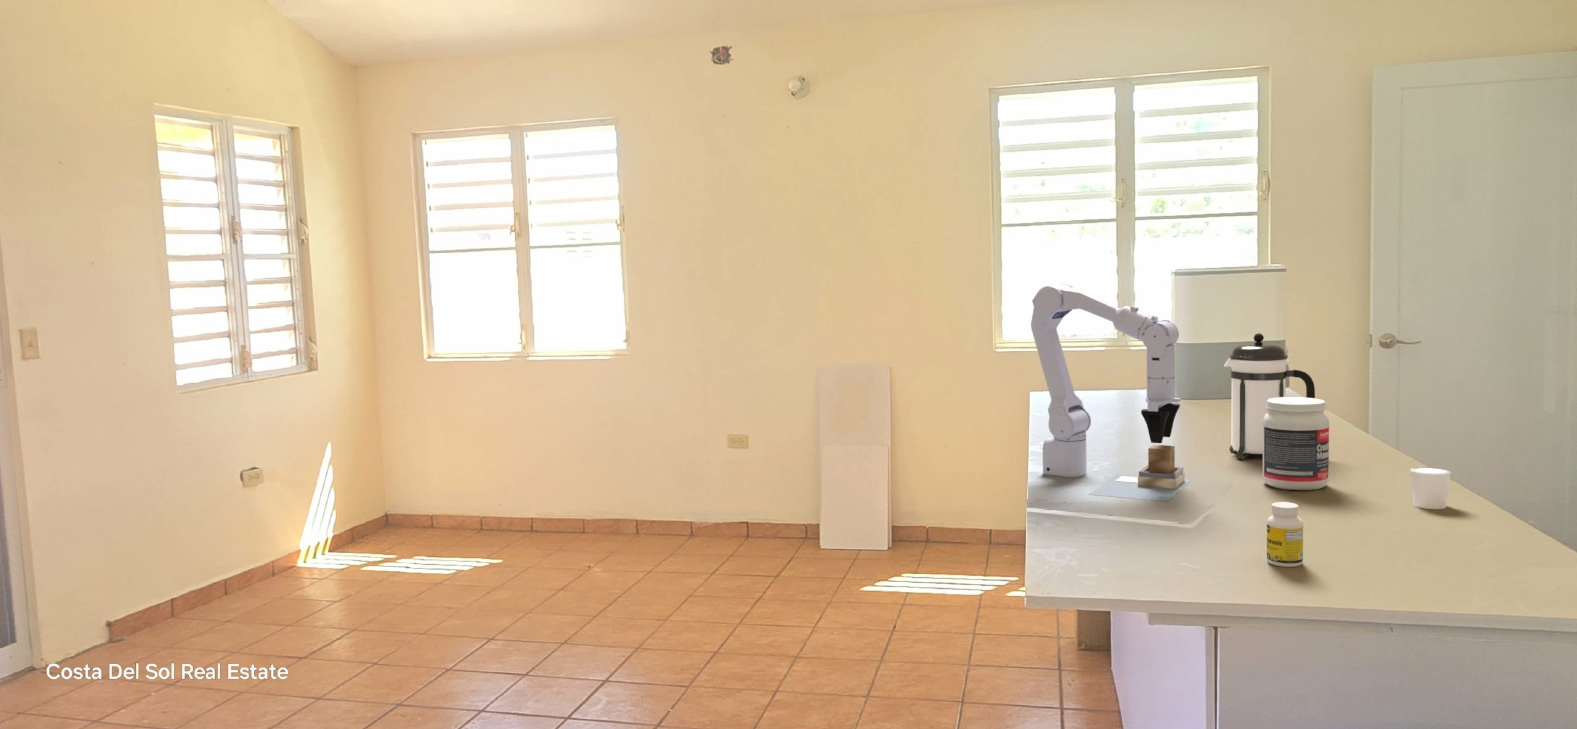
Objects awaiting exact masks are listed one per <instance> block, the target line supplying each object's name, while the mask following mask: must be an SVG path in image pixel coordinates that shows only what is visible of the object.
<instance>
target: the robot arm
mask: <svg viewBox="0 0 1577 729" xmlns="http://www.w3.org/2000/svg"><path fill="white" fill-rule="evenodd" d="M1031 302H1032V306H1033V311H1032V315H1031V323H1030V327H1031V332H1032V336H1033V339H1034V340H1033V341H1034V342H1035V347H1036V350H1037V353H1038V357H1039V360H1040V365H1041V368H1042V371H1043V374H1044V378H1045V381H1046V385H1047V389H1048V392H1049V398H1050V403H1049V406H1048V407H1047V412H1048V415H1049V417H1048V418H1049V419H1048V430H1049V432H1050V433H1051V435H1052V436H1053V437H1046V438H1045V439H1044V441H1043V445H1042V475H1048V476H1051V475H1052V476H1061V477H1067V478H1068V477H1070V478H1071V477H1072V478H1074V477H1083V476H1086V475H1087V431H1088V430H1089V429H1090V427H1091V425H1092V418H1091V415H1090V414H1089V412H1088V411H1087V410H1086V408H1085V407H1084V404H1083V401H1082V400H1081V398H1080V397H1079V396H1077V394H1076V393H1075V389H1074V387H1073V383H1072V380H1071V377H1070V375H1071V374H1070V372H1069V369H1068V365H1067V362H1066V358H1065V354H1064V351H1063V347H1062V344H1061V341H1060V337H1059V334H1058V330H1057V328H1058V327H1059V325H1060V323H1061V322H1062V320H1063V319H1064V317H1066V316H1067V315H1068V314H1069V313H1071V312H1072V311H1073V310H1083V311H1085V312H1087V313H1090V314H1092V315H1095V316H1096V317H1100V318H1101V319H1105V320H1107V321H1110V322H1112V325H1113V326H1114V329H1115V330H1116V331H1118V332H1120V333H1122V334H1125V335H1127V336H1129V337H1130V338H1131V337H1132V338H1134V339H1136V340H1138V341H1140V342H1142V343H1143V345H1144V346H1145V347H1146V397H1145V401H1146V403H1147V408H1143V409H1141V411H1140V413H1141V416H1142V417H1143V419H1144V423H1145V424H1146V427H1147V431H1148V435H1149V439H1150V442H1151V444H1162V443H1163V440H1164V438H1171V435H1172V431H1173V426H1174V422H1175V418H1176V415H1177V413H1178V411H1179V409H1180V405H1181V404H1180V402H1181V400H1182V399H1181V397H1175V396H1176V395H1175V394H1176V393H1175V392H1176V389H1175V388H1176V386H1175V384H1176V380H1175V379H1176V378H1175V377H1176V376H1175V375H1176V374H1175V373H1176V366H1175V365H1176V358H1175V356H1176V354H1175V352H1176V351H1175V348H1176V347H1175V344H1176V343H1177V342H1178V340H1179V335H1180V333H1179V329H1178V327H1177V325H1176V324H1175V323H1174V322H1171V321H1170V320H1168V319H1162V320H1159V317H1158V316H1157V315H1149V314H1146V313H1144V312H1142V311H1140V310H1139V309H1140V308H1139V307H1138V306H1136V305H1131V306H1129V305H1126V306H1123V307H1121V308H1119V307H1117V306H1115V305H1114V304H1111V303H1109V302H1107V301H1105V300H1104V299H1101V298H1099V297H1098V296H1095V295H1094V294H1091V293H1090V292H1088V291H1085V290H1084V289H1082V288H1079V287H1074V286H1073V285H1071V284H1066V283H1065V284H1060V285H1052V286H1050V285H1047V286H1043V287H1041V288H1040V289H1039V290H1038V291H1037V293H1036V294H1035V296H1034V298H1033V299H1032V301H1031Z"/></svg>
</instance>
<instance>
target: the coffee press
mask: <svg viewBox="0 0 1577 729" xmlns="http://www.w3.org/2000/svg"><path fill="white" fill-rule="evenodd" d="M1264 338H1265V337H1264V335H1263V334H1262V333H1260V332H1259V333H1255V334H1254V336H1253V340H1254V343H1253V342H1252V343H1244V344H1240V345H1237V346H1235V347H1233V349H1232V352H1231V353H1230V354H1229V357H1228V359H1227V360H1226V361H1225V363H1224V365H1223V366H1224V368H1231V369H1230V379H1231V401H1230V402H1231V411H1230V412H1231V414H1230V415H1231V416H1230V417H1231V418H1230V419H1231V421H1230V422H1231V423H1230V424H1231V425H1230V426H1231V430H1230V432H1231V435H1230V436H1231V439H1230V440H1231V442H1230V443H1231V445H1230V446H1229V452H1230V453H1237V454H1236V455H1235V456H1236V459H1237V460H1239V459H1240V460H1239V461H1241V460H1242V461H1244V460H1245V459H1246V457H1247V456H1248V455H1253V454H1254V455H1255V454H1256V455H1263V418H1264V416H1265V415H1266V414H1267V413H1268V409H1267V408H1266V406H1267V400H1268V399H1271V398H1279V397H1287V395H1286V392H1287V391H1286V388H1287V387H1286V385H1287V384H1286V383H1287V382H1286V380H1287V378H1288V377H1289V378H1290V377H1291V378H1299V379H1301V381H1303V382H1304V384H1305V391H1306V393H1305V394H1306V397H1305V398H1314V399H1316V395H1315V394H1316V392H1315V391H1316V390H1315V383H1314V381H1313V379H1312V377H1311V375H1310V374H1308V373H1307V372H1305V371H1303V370H1300V369H1292V370H1288V369H1287V360H1288V358H1289V356H1288V355H1289V354H1287V352H1286V351H1285V349H1284V348H1283V347H1282V346H1280V345H1278V344H1274V343H1263V341H1264Z"/></svg>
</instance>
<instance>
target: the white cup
mask: <svg viewBox="0 0 1577 729" xmlns="http://www.w3.org/2000/svg"><path fill="white" fill-rule="evenodd" d="M1409 473H1410V484H1411V496H1412V498H1411V499H1412V506H1414V507H1416V508H1421V509H1426V510H1427V509H1428V510H1441V509H1446V508H1447V504H1448V496H1449V490H1450V482H1451V476H1452V475H1451V474H1452V472H1451V471H1450V470H1448V469H1444V468H1437V467H1429V466H1427V467H1426V466H1423V467H1412V468H1410V471H1409Z"/></svg>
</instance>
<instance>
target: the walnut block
mask: <svg viewBox="0 0 1577 729" xmlns="http://www.w3.org/2000/svg"><path fill="white" fill-rule="evenodd" d="M1147 450H1148V451H1147V452H1148V455H1147V456H1148V462H1147V465H1148V472H1158V473H1174V472H1175V467H1176V465H1175V464H1176V463H1175V462H1176V460H1175V458H1176V455H1175V454H1176V453H1175V451H1176V450H1175V445H1164V444H1152V445H1150V446H1149V447H1148V449H1147Z"/></svg>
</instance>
